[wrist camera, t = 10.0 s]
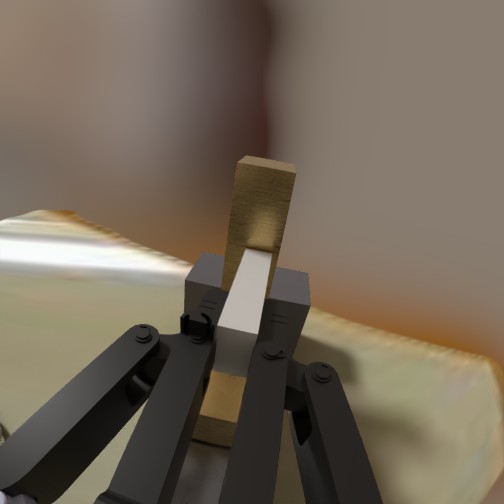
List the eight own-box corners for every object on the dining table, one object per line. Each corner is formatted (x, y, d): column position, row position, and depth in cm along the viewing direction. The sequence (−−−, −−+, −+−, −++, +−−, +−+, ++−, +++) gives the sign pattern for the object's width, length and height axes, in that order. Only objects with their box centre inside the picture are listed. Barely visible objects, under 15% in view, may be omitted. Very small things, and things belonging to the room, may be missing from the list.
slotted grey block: (184, 342, 25) (185, 279, 22) (198, 310, 29) (202, 251, 26) (288, 364, 24) (310, 305, 21) (290, 329, 29) (308, 273, 26)
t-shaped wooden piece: (183, 435, 15) (181, 191, 8) (225, 312, 28) (248, 147, 20) (242, 449, 15) (317, 216, 8) (264, 321, 28) (300, 157, 20)
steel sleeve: (136, 515, 10) (121, 507, 8) (168, 426, 17) (164, 400, 15) (247, 542, 9) (258, 541, 8) (262, 447, 17) (274, 425, 15)
